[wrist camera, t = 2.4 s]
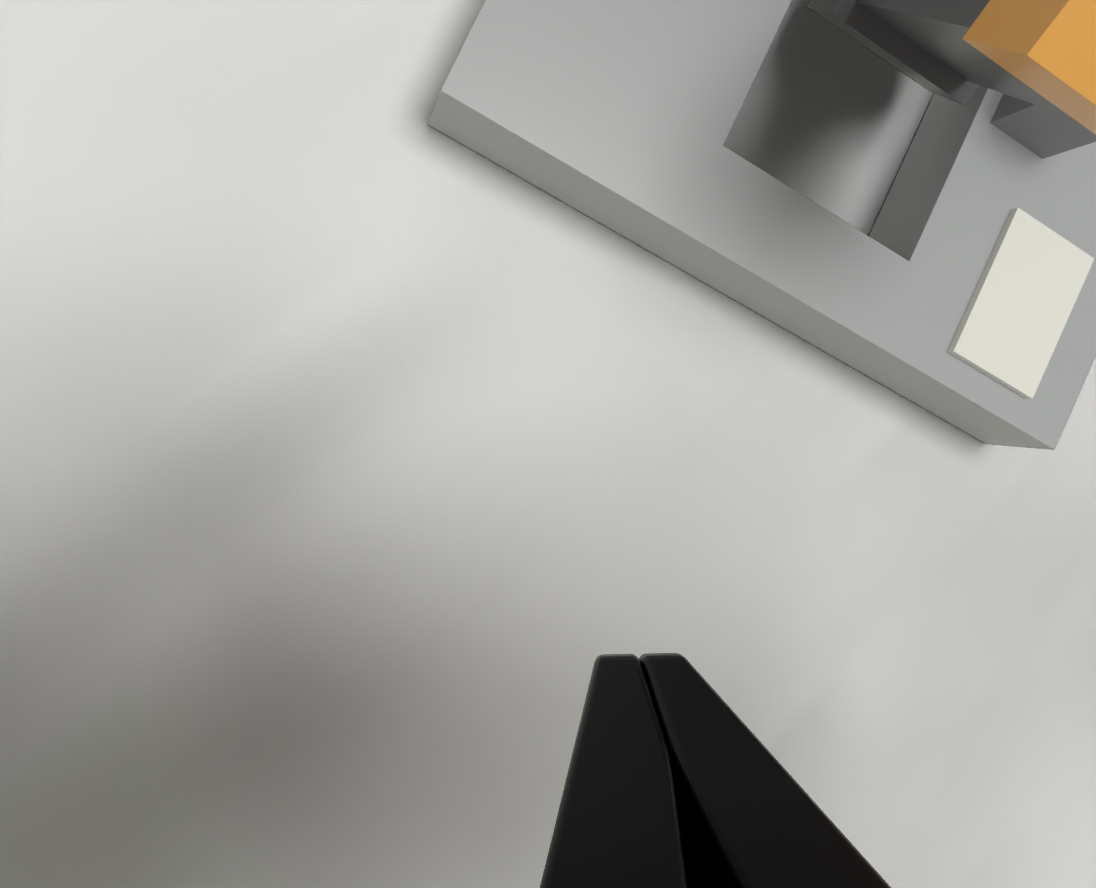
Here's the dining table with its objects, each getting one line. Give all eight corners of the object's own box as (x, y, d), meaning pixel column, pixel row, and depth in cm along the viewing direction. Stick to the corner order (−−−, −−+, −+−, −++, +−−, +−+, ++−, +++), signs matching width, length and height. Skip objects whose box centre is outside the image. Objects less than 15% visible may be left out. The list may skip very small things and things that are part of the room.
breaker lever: (929, 90, 20) (1198, 201, 12) (806, 5, 20) (1003, 61, 11) (1003, -10, 19) (1355, 34, 11) (876, -105, 19) (1154, -137, 10)
